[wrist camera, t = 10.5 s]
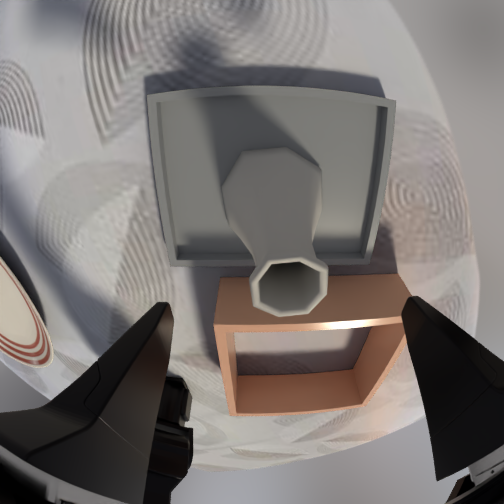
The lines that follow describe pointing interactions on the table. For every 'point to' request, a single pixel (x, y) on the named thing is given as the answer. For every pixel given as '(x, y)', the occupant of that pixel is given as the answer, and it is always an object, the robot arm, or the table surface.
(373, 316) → the terracotta box
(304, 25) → the table surface
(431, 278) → the table surface
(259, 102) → the grey tray
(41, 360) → the dinner plate
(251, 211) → the flask
